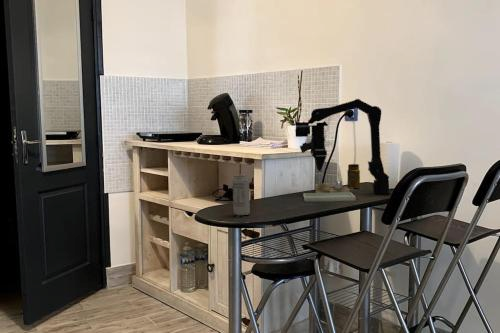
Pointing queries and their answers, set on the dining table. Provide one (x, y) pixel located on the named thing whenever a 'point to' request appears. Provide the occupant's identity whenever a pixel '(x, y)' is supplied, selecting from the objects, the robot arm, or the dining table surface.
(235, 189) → the energy drink can
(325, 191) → the wooden block frame
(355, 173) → the condiment
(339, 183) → the cylinder
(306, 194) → the tray
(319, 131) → the robot arm
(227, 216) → the dining table surface
